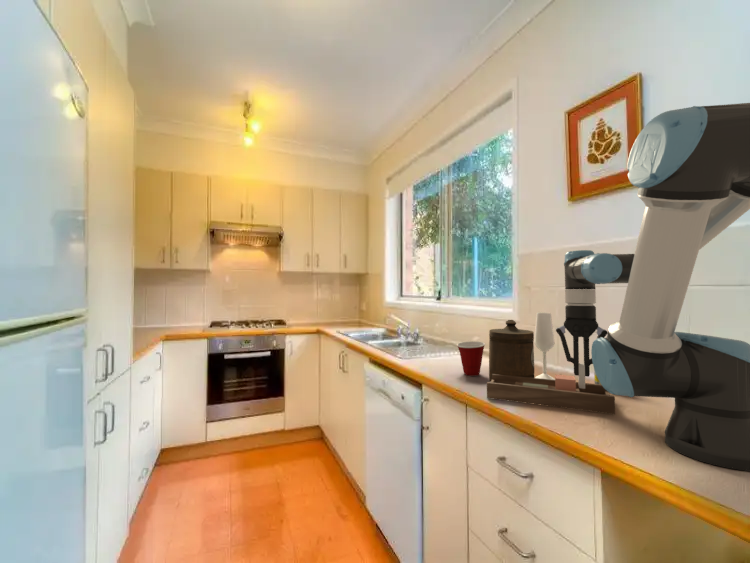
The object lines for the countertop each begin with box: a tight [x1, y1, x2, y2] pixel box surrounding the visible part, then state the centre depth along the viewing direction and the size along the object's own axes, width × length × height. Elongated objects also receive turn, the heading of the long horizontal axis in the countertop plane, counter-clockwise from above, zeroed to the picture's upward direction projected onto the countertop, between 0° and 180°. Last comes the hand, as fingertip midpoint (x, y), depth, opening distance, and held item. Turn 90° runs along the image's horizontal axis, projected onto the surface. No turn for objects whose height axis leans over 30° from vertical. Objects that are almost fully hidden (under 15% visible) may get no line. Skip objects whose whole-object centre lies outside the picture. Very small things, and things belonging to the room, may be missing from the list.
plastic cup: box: [456, 340, 486, 377], centre depth 133 cm, size 11×11×12 cm
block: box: [554, 374, 577, 392], centre depth 100 cm, size 5×5×4 cm
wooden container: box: [488, 319, 535, 382], centre depth 121 cm, size 15×15×22 cm
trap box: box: [486, 374, 616, 415], centre depth 102 cm, size 12×32×4 cm, turn 63°
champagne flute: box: [533, 311, 555, 380], centre depth 126 cm, size 7×7×24 cm
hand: (581, 387), depth 98 cm, fingers closed
